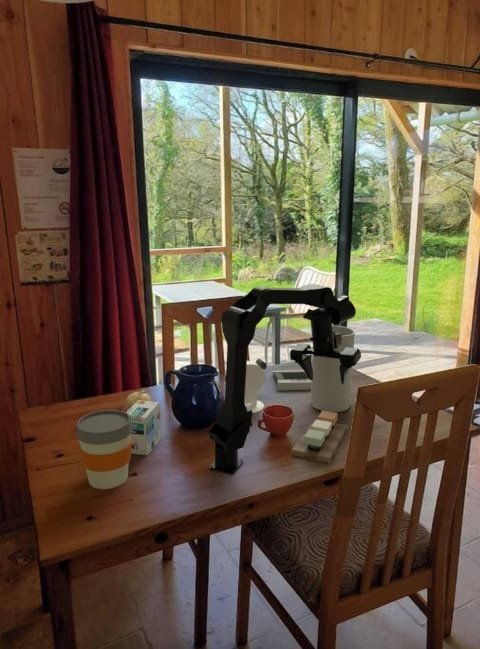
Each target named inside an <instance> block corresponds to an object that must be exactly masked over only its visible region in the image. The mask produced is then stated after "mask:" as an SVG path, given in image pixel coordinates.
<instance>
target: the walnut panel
mask: <svg viewBox="0 0 480 649" xmlns="http://www.w3.org/2000/svg"><path fill="white" fill-rule="evenodd" d="M315 420H318V419H317V418H316V419H315V418H313V420H312V421H311V422H310V424H309V425H308V426H307V428H306V429H305V430H304V431H303V433H302V435H301V436H300V437H299V439H298V441H297V442H296V443H295V445H294V446H293V448H292V449H291V456H295V457H300V458H304V459H309V460H313V461H317V462H322V463H327V464H330V463H331V461H332V460H333V457H334V456H335V454H336V452H337V450H338V448H339V446H340V445H341V443H342V441H343V439H344V438H345V436H346V434H347V432H348V425H347V424H341V423H337V422H336V423H335V424H334V426H332V428H331V431H330V432H329V434H328V435H327V436H326V437H325V440H324V442H323V444H322V445H321V447H319V448H317V449H313V448H311V447H310V445H309V444H305V443H304V436H305V434H306V433H307V432H308V430H309V429H311V428H312V425H313V423H314V422H315ZM311 449H312V450H311Z"/></svg>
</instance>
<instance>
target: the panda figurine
mask: <svg viewBox="0 0 480 649" xmlns="http://www.w3.org/2000/svg"><path fill="white" fill-rule="evenodd" d="M267 368H268V364H267V363H266V362H265V361H264V360H263V359H261V358H257V359H256V360H255V361H252V360H247V367H246V384H245V400H244V402H245V406H246V407H247V408H249V409H251V410H252V413H253V414H256V413H259V412H262V411H263V410H264V409H265V404H264V403H263V402H262V401H261V400H258V396H259V391H260V390H261V389H262V387H263V386H264V384H265V383H266V379H267V378H266V376H267V375H266V373H265V371H264V370H266V369H267Z"/></svg>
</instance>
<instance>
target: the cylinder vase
mask: <svg viewBox="0 0 480 649" xmlns="http://www.w3.org/2000/svg"><path fill="white" fill-rule="evenodd" d="M333 330H335V333H341V334H342V342H341V345H340V344H339V345H338V348H337V349H335V351H339V352H343V351H344V349H345V348H346V347H348V348H355V336H356V335H355V332H356V331H355V330H354V329H352V328H350V327H348V326H347V327H346V326H341V325H333ZM311 363H312V369H313V380H312V383H311V390H310V404H311V406H312V407H313V408H314V409H315V410H317V411H320V412H322V411H328V412H333V413H342V412H345V411H347V410H348V409H349V408H350V407H351V396H352V379H353V367H354V366H352V367H351V368H349V369H348V372H347V376H346V379H345V383H344V384H342V383H341V377H340V368H339V366H340V365H341V363H340V359H336V358H326V357H316V356H312V358H311Z"/></svg>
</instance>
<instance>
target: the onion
mask: <svg viewBox="0 0 480 649" xmlns="http://www.w3.org/2000/svg"><path fill="white" fill-rule="evenodd" d="M138 400H142V401H151V402H153V399H152V398H151V396H150V395H149V394H148V393H147V391H146V390H144V388H141V390H140V391H134V392H132V393H131V394H129V395H128V396H127V397H126V399H125V402H124V403H125V407H126V409H127V411H128V410H129V409H130V408H131V407H132V406H133V405H134V404H135V403H136V402H137V401H138Z"/></svg>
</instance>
